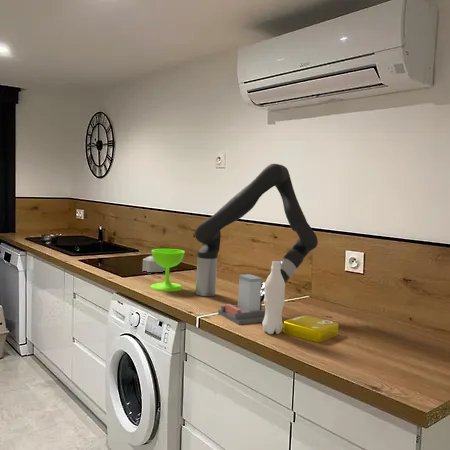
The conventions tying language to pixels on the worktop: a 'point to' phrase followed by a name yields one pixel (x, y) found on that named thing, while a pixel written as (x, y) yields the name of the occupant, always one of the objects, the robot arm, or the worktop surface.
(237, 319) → the track
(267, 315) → the water bottle
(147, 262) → the lumpy-topped squat cylinder
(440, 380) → the worktop surface
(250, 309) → the grey tall block
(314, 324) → the element tile
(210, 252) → the robot arm
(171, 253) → the wineglass
